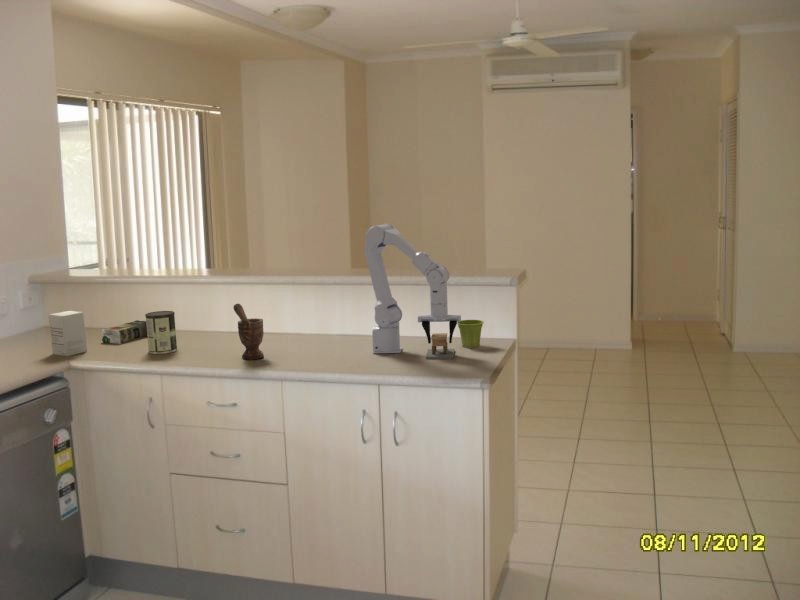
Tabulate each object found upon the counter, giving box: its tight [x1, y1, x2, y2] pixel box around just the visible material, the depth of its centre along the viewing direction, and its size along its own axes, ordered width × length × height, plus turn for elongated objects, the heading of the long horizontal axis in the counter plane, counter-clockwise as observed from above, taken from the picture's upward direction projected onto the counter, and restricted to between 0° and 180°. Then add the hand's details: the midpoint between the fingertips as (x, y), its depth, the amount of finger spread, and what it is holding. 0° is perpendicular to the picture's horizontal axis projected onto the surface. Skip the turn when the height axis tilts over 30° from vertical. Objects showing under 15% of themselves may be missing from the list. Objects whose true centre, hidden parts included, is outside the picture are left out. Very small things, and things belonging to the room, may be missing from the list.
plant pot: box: [456, 319, 484, 349], centre depth 313 cm, size 9×9×9 cm
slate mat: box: [425, 348, 455, 360], centre depth 301 cm, size 9×12×1 cm
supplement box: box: [48, 310, 88, 357], centre depth 325 cm, size 9×9×15 cm
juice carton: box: [101, 319, 148, 345], centre depth 350 cm, size 20×10×6 cm, turn 153°
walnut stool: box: [430, 332, 449, 355], centre depth 300 cm, size 6×5×6 cm
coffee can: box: [144, 310, 178, 355], centre depth 323 cm, size 10×10×14 cm
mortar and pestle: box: [233, 303, 265, 361], centre depth 304 cm, size 12×9×20 cm
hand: (440, 342), depth 300 cm, fingers open, 6 cm apart
